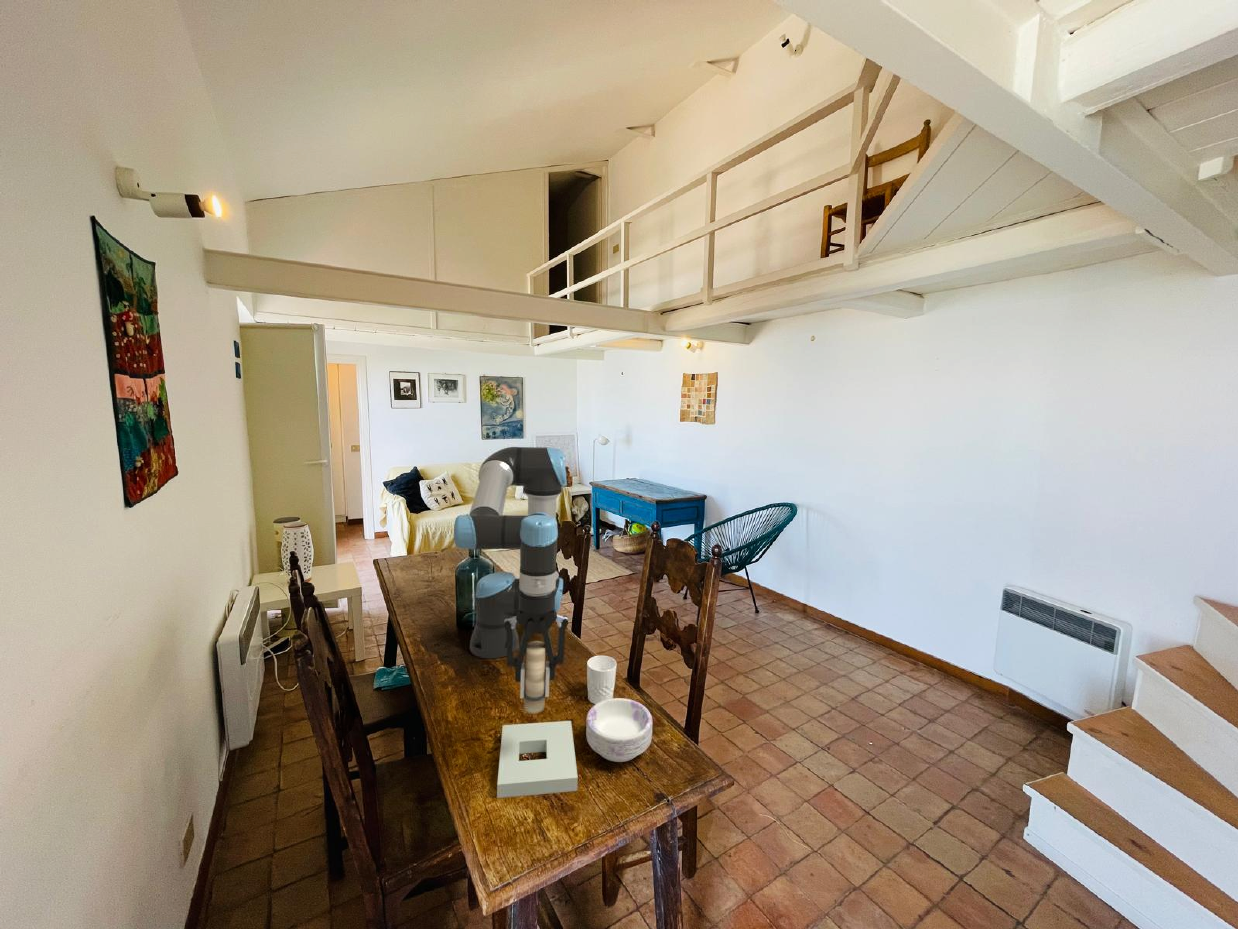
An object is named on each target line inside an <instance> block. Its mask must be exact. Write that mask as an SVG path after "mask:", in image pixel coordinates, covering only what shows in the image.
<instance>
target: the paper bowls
mask: <svg viewBox="0 0 1238 929" xmlns="http://www.w3.org/2000/svg"><path fill="white" fill-rule="evenodd" d="M585 721H586V722H585V723H586V727H585V728H586V730H585V731H586V732H585V733H586V735H585V736H586V741H587V743H588V745H589V746H590V748H591V749H592V750H593V751H594V752H595V753H597V754H599V755H600V756H601V757H602V758H604V759H606V760H607V761H610V762H614V763H623V762H625V763H626V762H629V761H631V760H633V759H634V758H636V757H637V756H639V755H642V754H643V753H644V752H645V751H646V750H647V749H648V748H649V747H650V745H651V742H652V738H653V716H652V714H651V713H650V711H649V709H648V708H647V707H646V706H645V705H643V704H642V703H641V702H638V701H636V700H634V699H630V698H623V697H615V698H614V697H613V698H612V699H607V700H604V701H601V702H599V703H597V704H594V705H592V707H591V708H590V709H589V711H588V713H587V714H586V719H585Z"/></svg>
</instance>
